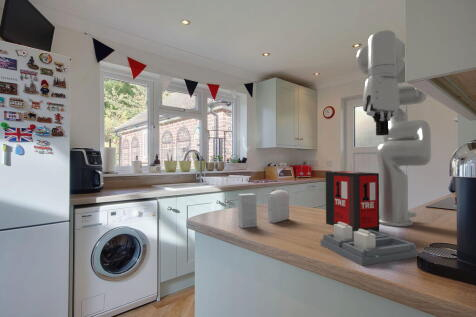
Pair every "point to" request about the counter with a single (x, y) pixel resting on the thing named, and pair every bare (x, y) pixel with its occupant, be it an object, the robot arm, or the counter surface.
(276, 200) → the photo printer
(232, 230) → the counter surface
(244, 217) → the skincare box
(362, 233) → the tab
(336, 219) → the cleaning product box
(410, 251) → the switch board
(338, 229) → the tab
